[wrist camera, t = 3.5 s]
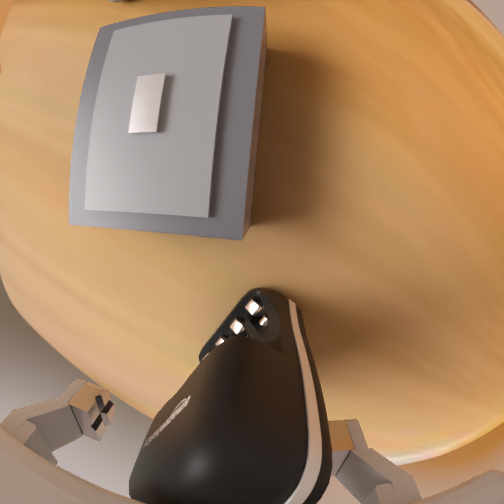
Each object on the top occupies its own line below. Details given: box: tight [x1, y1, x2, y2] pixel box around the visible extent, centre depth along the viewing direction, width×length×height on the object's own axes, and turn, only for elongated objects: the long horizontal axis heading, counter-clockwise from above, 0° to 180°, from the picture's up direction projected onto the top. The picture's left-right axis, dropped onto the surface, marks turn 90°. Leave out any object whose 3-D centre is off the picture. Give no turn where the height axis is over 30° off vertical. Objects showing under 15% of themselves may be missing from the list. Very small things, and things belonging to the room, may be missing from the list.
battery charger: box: [129, 288, 333, 504], centre depth 10 cm, size 7×4×11 cm, turn 144°
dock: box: [69, 6, 267, 240], centre depth 11 cm, size 8×10×5 cm
